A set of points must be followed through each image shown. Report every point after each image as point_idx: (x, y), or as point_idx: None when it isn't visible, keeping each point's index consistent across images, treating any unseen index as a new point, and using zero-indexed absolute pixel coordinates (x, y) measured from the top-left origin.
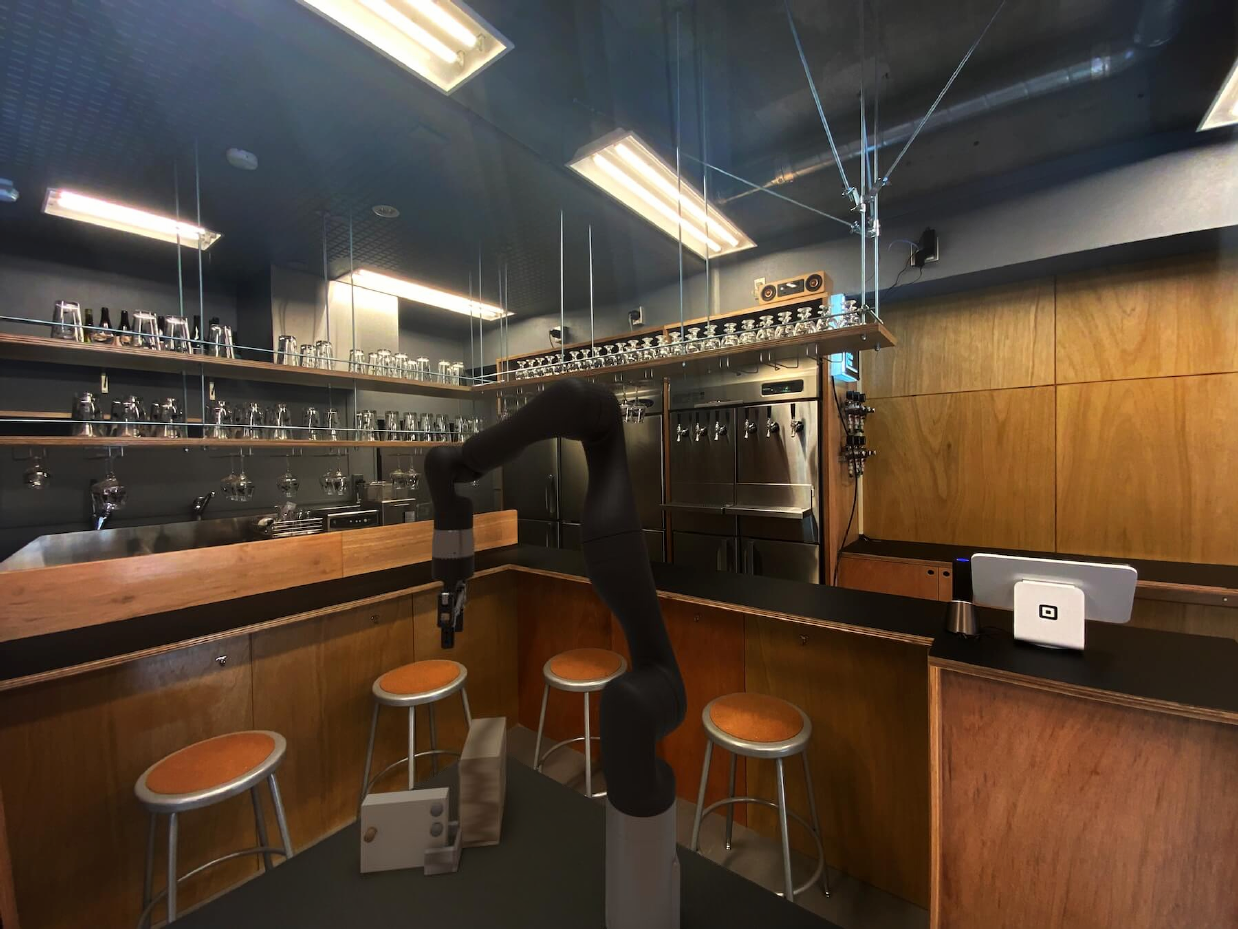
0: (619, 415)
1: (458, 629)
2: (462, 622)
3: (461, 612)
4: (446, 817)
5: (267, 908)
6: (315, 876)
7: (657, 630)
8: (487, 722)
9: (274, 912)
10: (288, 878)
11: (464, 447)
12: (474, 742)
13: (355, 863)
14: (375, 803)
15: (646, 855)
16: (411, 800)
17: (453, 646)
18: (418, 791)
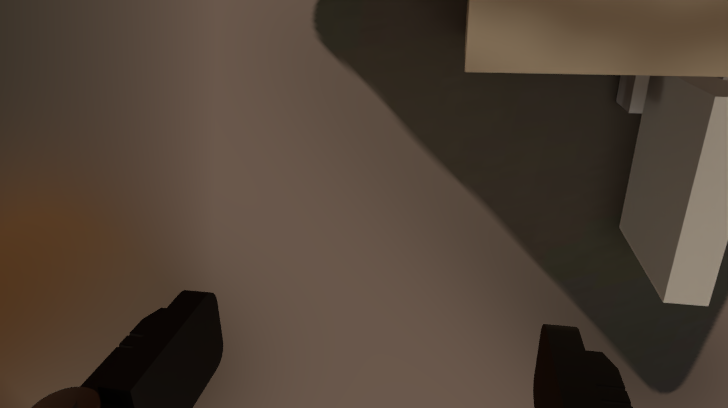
0: None
1: (209, 324)
2: (179, 333)
3: (113, 402)
4: (718, 83)
5: (682, 347)
6: (632, 301)
7: None
8: (503, 4)
9: (696, 335)
10: (621, 339)
11: None
12: (655, 38)
13: (621, 245)
14: (713, 277)
15: None
16: None
17: (576, 330)
18: (700, 181)
